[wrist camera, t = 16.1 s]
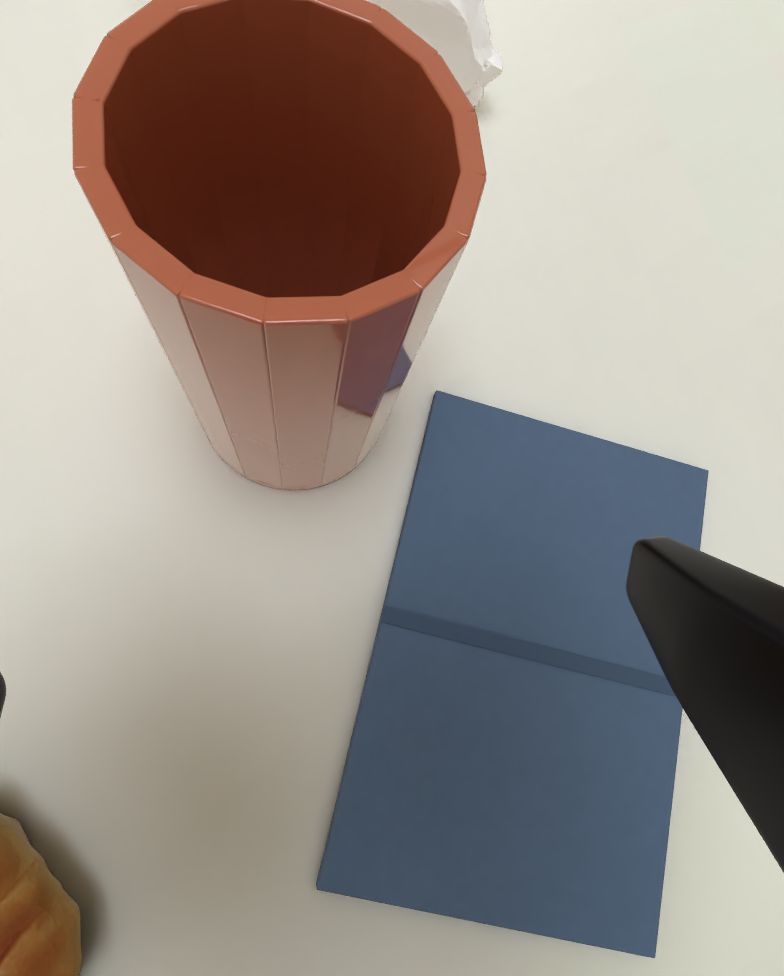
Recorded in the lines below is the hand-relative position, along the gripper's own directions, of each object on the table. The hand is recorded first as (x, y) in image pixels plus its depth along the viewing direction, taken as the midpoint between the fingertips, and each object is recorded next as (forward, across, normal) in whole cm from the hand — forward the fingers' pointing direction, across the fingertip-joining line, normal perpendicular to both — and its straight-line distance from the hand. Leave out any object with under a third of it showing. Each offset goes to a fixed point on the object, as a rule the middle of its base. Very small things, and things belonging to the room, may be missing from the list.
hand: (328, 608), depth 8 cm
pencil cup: (+15, +1, +3) cm, 16 cm away
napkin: (+9, -7, +11) cm, 16 cm away
